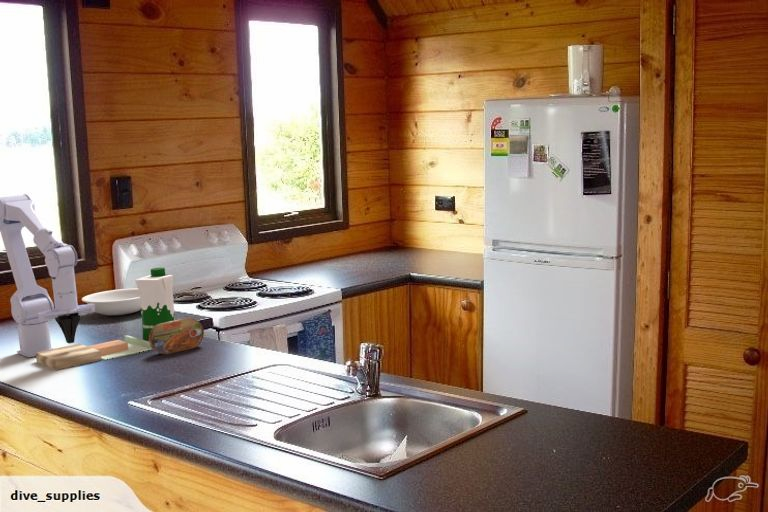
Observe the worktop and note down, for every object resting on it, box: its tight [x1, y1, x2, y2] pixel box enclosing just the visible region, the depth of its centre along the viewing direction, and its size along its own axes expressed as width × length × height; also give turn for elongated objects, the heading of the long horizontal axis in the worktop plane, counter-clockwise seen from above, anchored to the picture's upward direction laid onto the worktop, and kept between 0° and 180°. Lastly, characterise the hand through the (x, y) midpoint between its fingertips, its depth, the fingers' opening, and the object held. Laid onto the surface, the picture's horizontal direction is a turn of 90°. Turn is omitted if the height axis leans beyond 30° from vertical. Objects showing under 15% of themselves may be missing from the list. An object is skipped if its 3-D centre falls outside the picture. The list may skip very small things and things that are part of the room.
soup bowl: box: [81, 287, 141, 316], centre depth 303 cm, size 24×24×7 cm
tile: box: [87, 339, 129, 356], centre depth 248 cm, size 6×9×2 cm, turn 131°
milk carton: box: [134, 267, 176, 342], centre depth 260 cm, size 9×9×20 cm
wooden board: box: [35, 343, 103, 371], centre depth 241 cm, size 14×12×2 cm
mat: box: [101, 334, 154, 361], centre depth 250 cm, size 16×14×2 cm
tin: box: [148, 317, 205, 355], centre depth 245 cm, size 15×3×8 cm, turn 127°
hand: (70, 342), depth 242 cm, fingers closed
